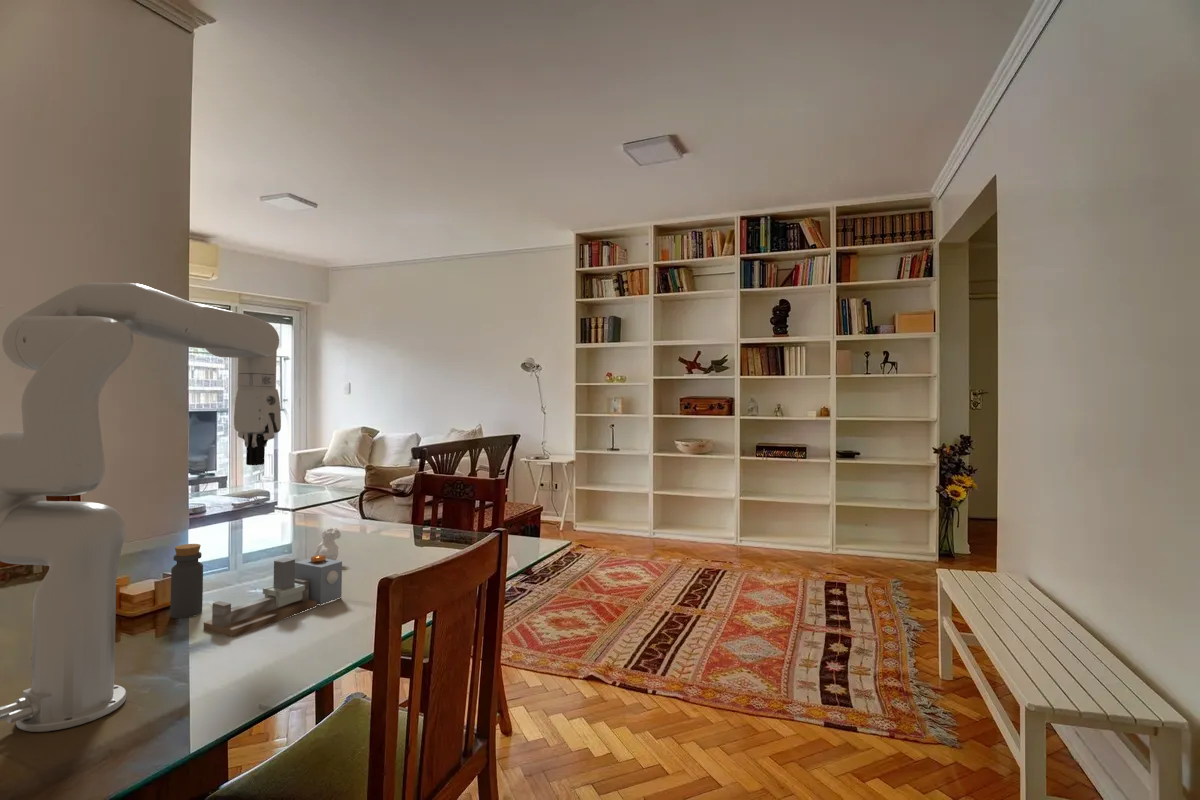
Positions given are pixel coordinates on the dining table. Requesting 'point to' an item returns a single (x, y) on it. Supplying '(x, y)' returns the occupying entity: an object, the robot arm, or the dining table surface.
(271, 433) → the robot arm
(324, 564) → the end cabinet
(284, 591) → the carriage
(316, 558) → the gauge plunger
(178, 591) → the bottle
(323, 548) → the duck figurine
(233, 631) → the rail plinth
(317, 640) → the dining table surface
